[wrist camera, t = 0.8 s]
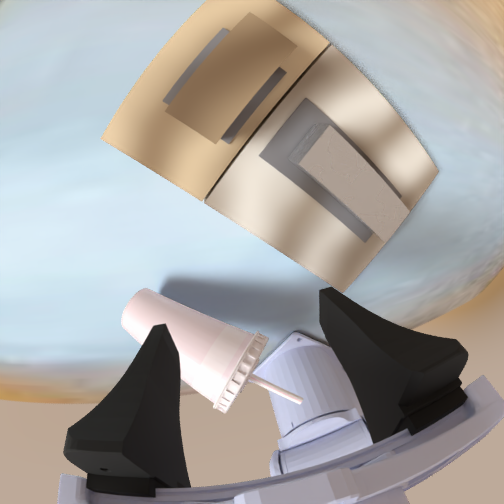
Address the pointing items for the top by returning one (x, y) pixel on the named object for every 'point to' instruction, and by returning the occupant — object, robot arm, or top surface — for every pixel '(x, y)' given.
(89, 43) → the top surface
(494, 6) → the top surface
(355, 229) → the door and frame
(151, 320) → the smoothie
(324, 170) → the brushed metal block
